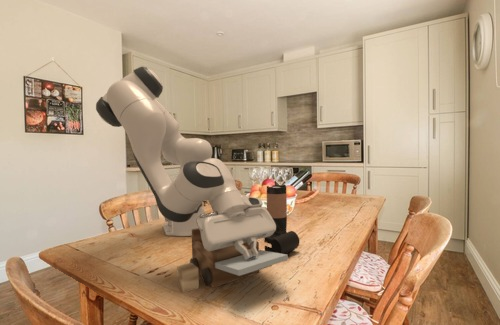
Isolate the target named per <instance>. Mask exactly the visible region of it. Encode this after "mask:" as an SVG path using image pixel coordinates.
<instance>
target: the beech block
mask: <svg viewBox="0 0 500 325" xmlns="http://www.w3.org/2000/svg"><path fill="white" fill-rule="evenodd" d="M199 276H200V275H199V272H198V267H196V266H195V265H194V264H193V263H190V262H189V263H186V264H182V265H178V266H176V278H177V280H176V282H177V283H176V286H177V288H179V290H181V292H182V293H184V294H185V293H186V292H191V291H192V290H193V291H194V290H196V289H199V288H200V284H199V283H200V282H199V280H200V277H199Z"/></svg>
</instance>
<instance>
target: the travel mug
mask: <svg viewBox="0 0 500 325" xmlns="http://www.w3.org/2000/svg"><path fill="white" fill-rule="evenodd" d="M287 198H288V197H287V186H286V185H284V184H283V185H282V184H280V185H279V184H274V185H272V186H269V185H266V209H267V211H268V212H269V214H270V215H271V217H272V218H273V220H274V222H275V224H276V231H275V232H274V233H273V234H272V235H274V236H279V234H276V232H279V231H284V232H287V223H288V219H287V218H288V217H287V216H288V215H287V214H288V213H287V212H288V209H287V205H288V204H287V203H288V202H287V200H288V199H287Z"/></svg>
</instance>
